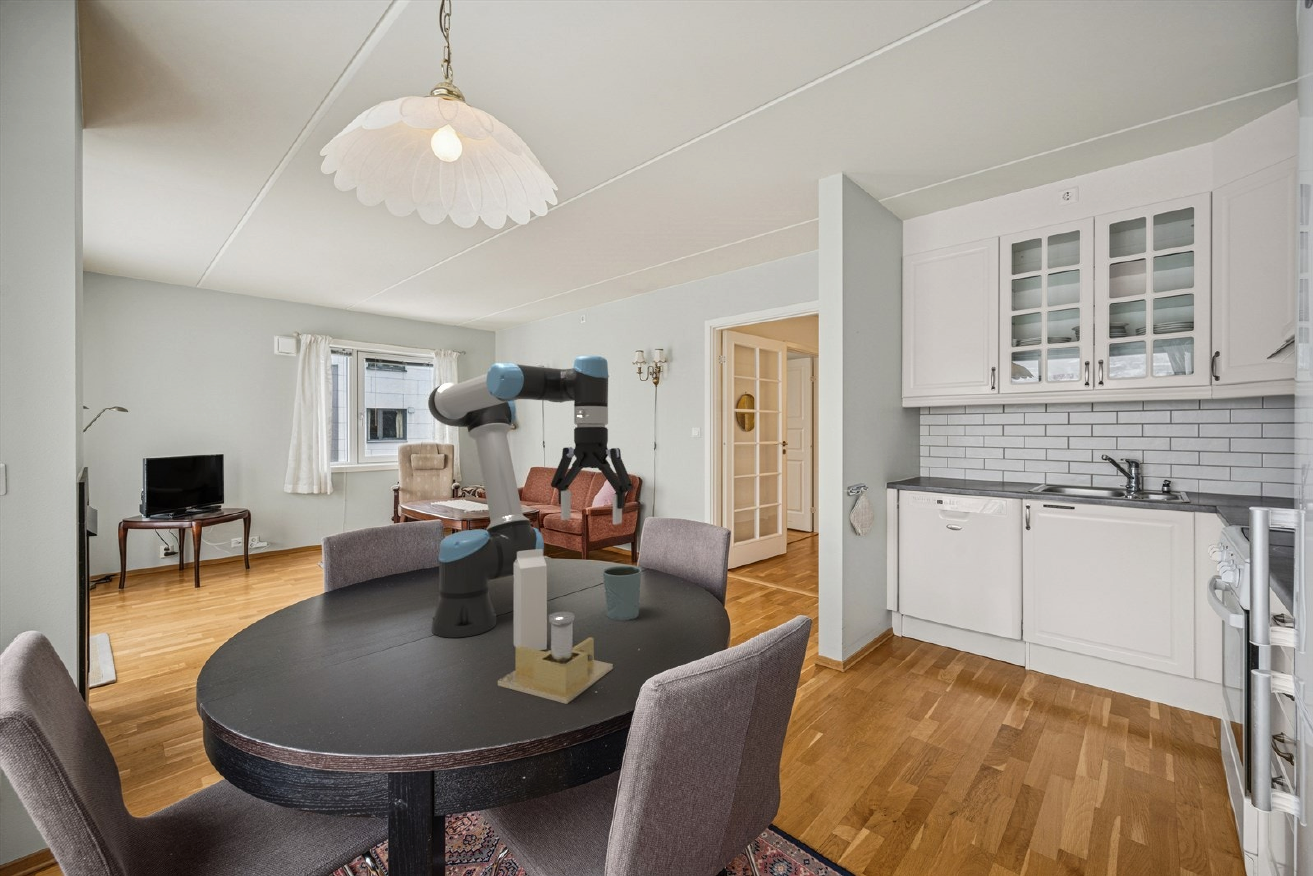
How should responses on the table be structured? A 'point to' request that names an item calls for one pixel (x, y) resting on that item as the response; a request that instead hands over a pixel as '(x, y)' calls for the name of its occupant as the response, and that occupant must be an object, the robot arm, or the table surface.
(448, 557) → the robot arm
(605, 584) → the teal cup
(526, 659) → the open box on plate
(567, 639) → the pin
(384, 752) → the table surface
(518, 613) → the milk
